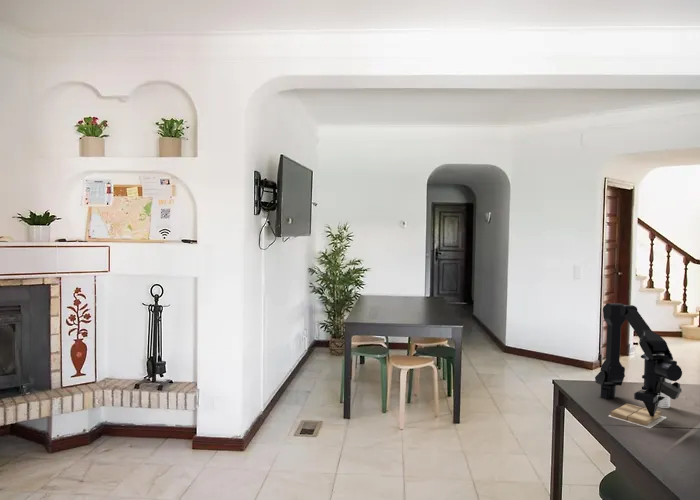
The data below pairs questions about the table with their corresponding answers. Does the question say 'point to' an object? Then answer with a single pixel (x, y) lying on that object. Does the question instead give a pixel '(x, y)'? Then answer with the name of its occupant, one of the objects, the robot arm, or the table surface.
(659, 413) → the raised plank
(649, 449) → the table surface
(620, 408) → the laid plank
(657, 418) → the board
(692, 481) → the table surface
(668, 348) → the robot arm
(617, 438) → the table surface
